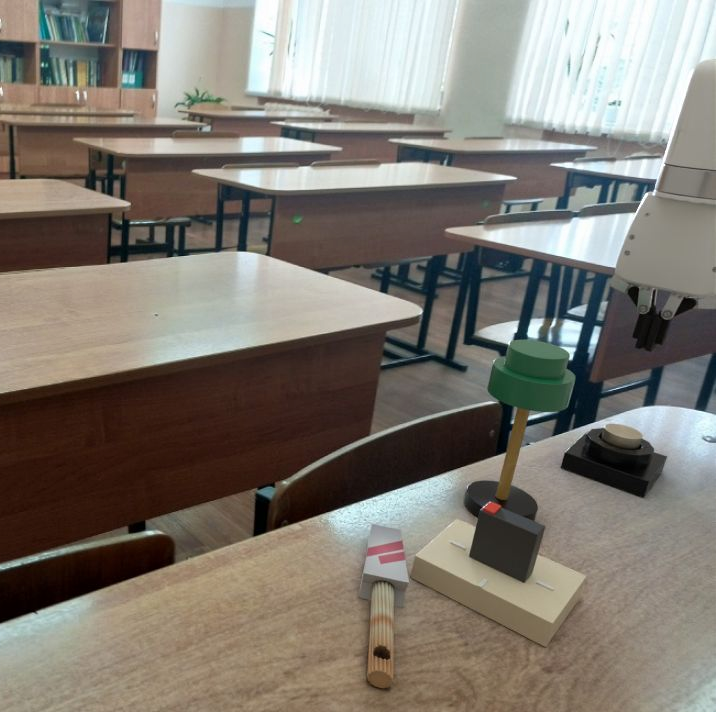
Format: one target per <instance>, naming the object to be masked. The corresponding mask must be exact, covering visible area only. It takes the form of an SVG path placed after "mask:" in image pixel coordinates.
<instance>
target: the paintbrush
mask: <svg viewBox="0 0 716 712" xmlns="http://www.w3.org/2000/svg"><path fill="white" fill-rule="evenodd" d="M405 555H406V553H405V548H404V542H403V535H402V530H401V529H400V528H395V527H389V526H383V525H380V524H374V523H371V525H370V532H369V536H368V542H367V547H366V553H365V559H364V564H363V568H362V575H361V580H360V581H361V582H360V586H359V591H358V597H357V598H359V599H363V600H367V601H370V620H369V621H370V624H369V638H368V639H369V640H368V641H369V644H368V657H367V669H366V671H367V672H366V676H367V681H368V682H369V684H371V685H373V687H376V688H378V689H385V688H389V687H391V686H392V685H393V683H394V621H395V620H394V616H395V615H394V611H395V607H398V608H403V607H404V602H405V594H406V590H407V588H408V586H409V584H410V580H409V573H408V568H407V561H406V556H405Z"/></svg>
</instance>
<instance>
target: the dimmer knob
mask: <svg viewBox="0 0 716 712" xmlns="http://www.w3.org/2000/svg"><path fill="white" fill-rule="evenodd" d="M476 520H477V521H476V525H475V527H476V529H475V533H474V537H473V541H472V545H471V549H470V554H469V557H471V558H473V559H475V560H477V561H479V562H482V563H484V564H486V565H488V566H490V567H492V568H494V569H496V570H499V571H501V572H503V573H505V574H507V575H509V576H511V577H513V578H516V579H518V580H520V581H522V582H525V581H526V580H527V579H528V578H529V577H530V575H531V574H532V573H533V569H534V566H535V562H536V559H537V555H539V551H540V548H541V544H542V540H543V537H544V534H545V530H546V525H544V524H541V523H539V522H536V521H535V520H534V521H532V520H530V519H527V518H525V517H522V516H520V515H518V514H515V513H513V512H510V511H508V510H506V509H503V508H501V505H498V504H496V503H493V502H489V503H488V504H486V505H485V506H484V507H483V508H482V509H481V510H480V512H479V516H478V517H477V519H476Z"/></svg>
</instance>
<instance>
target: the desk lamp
mask: <svg viewBox="0 0 716 712" xmlns="http://www.w3.org/2000/svg"><path fill="white" fill-rule="evenodd" d="M570 356H571V355H570V352H569V351H568V350H566V349H565V348H562V347H560V346H558V345H556V344H552V343H549V342H544V341H541V340H534V339H515V340H514V339H513V340H511V341H509V342H508V344H507V348H506V352H505V355H503V356H500V357H496V358H494V360H493V362H492V366H491V370H490V375H489V379H488V384H487V387H486V388H487V393H488V394H489V395H490V396H492V397H493V398H494V399H496V400H497V401H499V402H502V403H503V404H506V405H508V406H511V407H515V408H516V412H515V416H514V419H513V424H512V427H511V432H510V436H509V440H508V443H507V444H508V445H507V448H506V451H505V457H504V459H503V460H504V461H503V465H502V468H501V472H500V477H499V480H498V481H496V480H487V479H486V480H484V479H483V480H476V481H473V482H470V483H469V484H468V485H467V486H466V488H465V493H464V497H463V504H464V506H465V508H466V510H467V511H468V512H469V513H470V514H472V515H473V516H475V518H478V516H479V512H480V510H481V509H482V508H483V507H484V506H485V505H486V504H488V503H489V502H493V503H496V504H498V505H501V508H503V509H506V510H508V511H510V512H513V513H515V514H518V515H520V516H522V517H525V518H527V519H530V520H532V521H534V522H535V520H536V516H537V513H538V509H539V505H538V503H537V501H536V499H535V498H534V497H533V496H532V495H531V494H529V493H528V492H527V491H525V490H524V489H522V488H519V487H517V486H515V485H512V483H513V479H514V475H515V471H516V467H517V463H518V460H519V455H520V452H521V449H522V443H523V440H524V436H525V432H526V428H527V425H528V420H529V417H530V412H531V411H532V412H539V413H558V412H562V411H565V410H566V409H567V408H568V407H569V404H570V400H571V397H572V394H573V390H574V386H575V382H576V380H577V379H576V375H575V374H574V373H573V372H572V371H571V370H570V369H568V368H567V367H568V365H569V361H570V358H571V357H570Z"/></svg>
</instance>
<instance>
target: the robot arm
mask: <svg viewBox="0 0 716 712" xmlns="http://www.w3.org/2000/svg"><path fill="white" fill-rule="evenodd" d="M654 186H655V187H654V189H653V191H647V192H646V193H645V194H644V196H643V198H642V200H641V202H640V204H639V206H638V208H637V210H636V212H635V213H634V216H633V219H632V220H631V223H630V226H629V228H628V230H627V232H626V236H625V238H624V240H623V244H622V246H621V248H620V251H619V254H618V257H617V260H616V263H615V268H614V274H613V275H612V277H611V279H610V280H609V282H608V286H609V287H610V288H612V289H614V290H615V291H618V292H621V293H623V294H626V295H628V297H629V298H630V300H631V301H632V303H633V304H634V306H635V307H636V311H637V313H639V314H638V317H637V320H636V323H635V326H634V330H633V333H632V339H636V342H635V346H634V349H638V350H641V349H644V350H645V351H646V352H651V353H652V352H653V351H654V349H656V348H657V347H658V345H660V346H663V345H664V344H665V342H666V339H667V336H668V334H669V330H670V327H671V325H672V321H673V318H675V317H677V316H679V315H681V314H684V313H686V312H688V311H690V310H716V58H712V59H704V60H702V61H700V62H698V63H696V64H695V65H694V66H693V67H692V69H691V70H690V72H689V74H688V77H687V80H686V83H685V86H684V89H683V93H682V96H681V99H680V103H679V106H678V108H677V111H676V116H675V119H674V122H673V125H672V129H671V131H670V135H669V139H668V142H667V145H666V149H665V152H664V156H663V158H662V162H661V166H660V169H659V173H658V175H657V179H656V182H655V185H654ZM658 290H661V291H666V292H669V293H670V294H669V296H668V299H667V300H666V302H665V304H664V306H663V308H662V309H660V310H659V311H657V306H656V304H657V296H658Z"/></svg>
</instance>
